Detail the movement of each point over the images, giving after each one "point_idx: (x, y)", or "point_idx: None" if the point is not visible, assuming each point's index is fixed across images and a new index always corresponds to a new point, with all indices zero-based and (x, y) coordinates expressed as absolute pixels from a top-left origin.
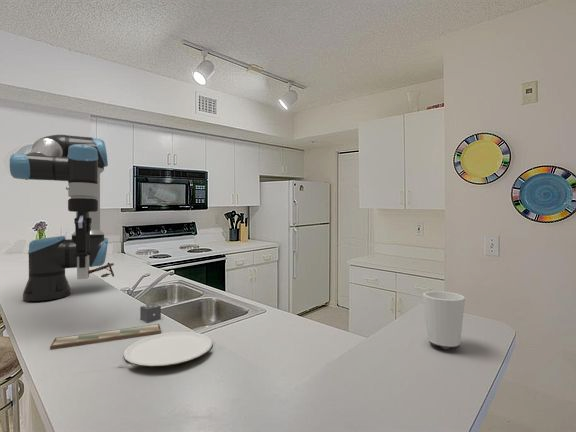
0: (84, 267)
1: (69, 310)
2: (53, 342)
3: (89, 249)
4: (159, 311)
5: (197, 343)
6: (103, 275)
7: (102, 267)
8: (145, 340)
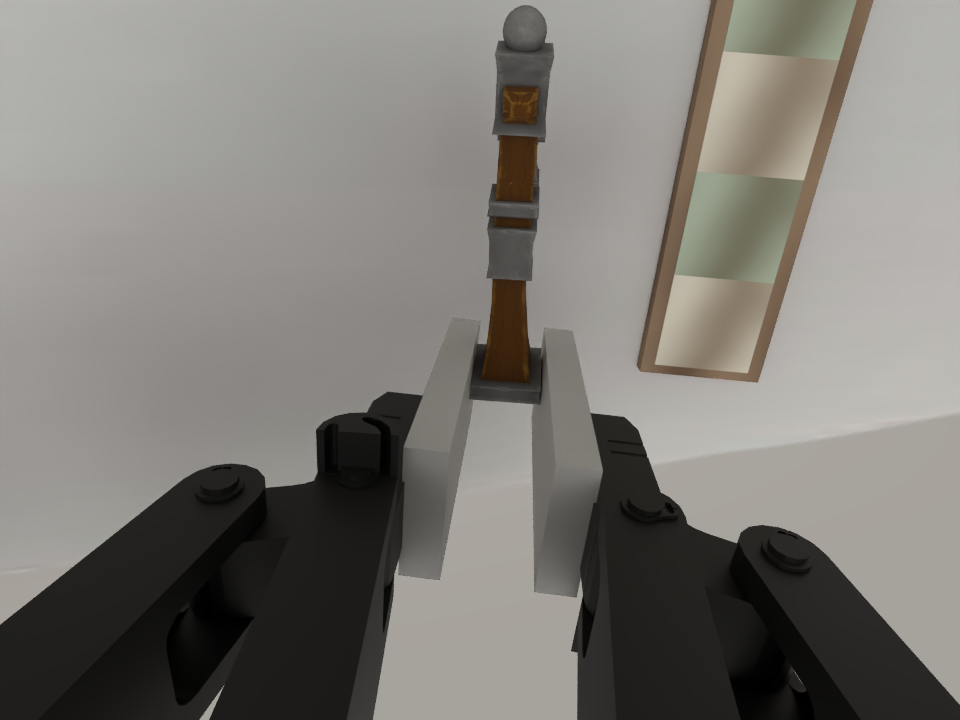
0: (626, 422)
1: (82, 330)
2: (709, 373)
3: (231, 499)
4: None
5: None
6: (535, 173)
7: (530, 197)
8: None
